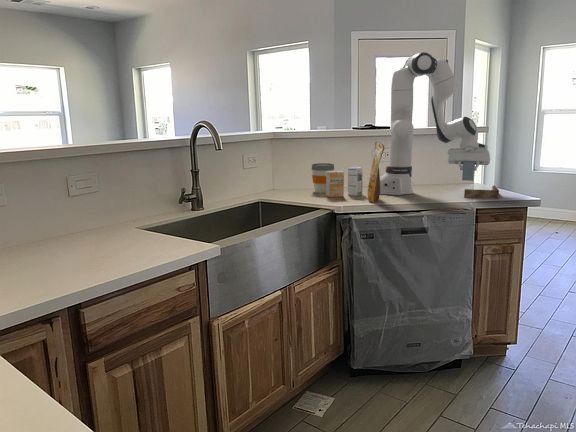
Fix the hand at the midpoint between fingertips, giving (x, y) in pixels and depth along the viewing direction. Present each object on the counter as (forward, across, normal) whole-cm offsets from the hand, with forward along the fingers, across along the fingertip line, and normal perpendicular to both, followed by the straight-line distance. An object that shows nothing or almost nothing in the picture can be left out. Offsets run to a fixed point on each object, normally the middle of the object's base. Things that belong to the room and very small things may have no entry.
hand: (468, 169), depth 230 cm
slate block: (+3, 0, +4) cm, 5 cm away
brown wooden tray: (+9, +7, +9) cm, 14 cm away
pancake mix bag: (+27, -43, -7) cm, 52 cm away
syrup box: (+18, -55, +2) cm, 58 cm away
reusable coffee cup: (+13, -74, +8) cm, 76 cm away
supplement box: (+24, -64, -3) cm, 69 cm away
